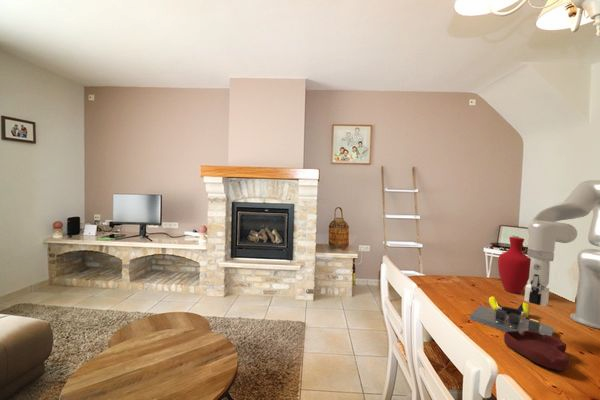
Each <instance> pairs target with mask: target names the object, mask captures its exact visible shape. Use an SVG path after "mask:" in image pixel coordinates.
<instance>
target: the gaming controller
mask: <svg viewBox="0 0 600 400" xmlns="http://www.w3.org/2000/svg"><path fill="white" fill-rule="evenodd" d="M488 304H489V307H490V308H491V309H495V310H497V309H501V310H505V311H507V313H508V314H510V313H515V314H518V315H521V316H520V317H521V318H524V319H528V318H529V316H530V311H531V307H530V305H529V304H528V302H525V301H524V302H522V303H521V304H520V305H519V306H518V308H514V307H509V306H505V305H504V306H501V305H500V304H499V302H498V300H497V299H496V298H495V296H490V297H489V298H488Z"/></svg>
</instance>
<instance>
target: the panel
mask: <svg viewBox="0 0 600 400" xmlns="http://www.w3.org/2000/svg"><path fill="white" fill-rule="evenodd" d="M520 316H521V315H518V314H515V313H510V314H508V313H507V311H505V310H501V309H497V310H495V309H492V308H491V307H487V306H484V305H479V306H478V307H477V308H475V310H474V311H473V312H471V313H470V314H469V320H471V321H474V322H477V323H480V324H482V325H486V326H489V327H491V328H495V329H498V330H500V331H503V332H504V333H505V332H509V331H519V334H521V333H522V332H523V331H533V330H530V329H528V325H529V319H528V318H526V319H524V318H521V317H520ZM535 332H536V331H535ZM539 333H540V334H541V335H549V336H553V335H554V333H555V327H553V326H550V325H546V324H544V323H541V322H540V330H539ZM553 337H554V336H553Z"/></svg>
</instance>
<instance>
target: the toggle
mask: <svg viewBox="0 0 600 400" xmlns="http://www.w3.org/2000/svg"><path fill="white" fill-rule="evenodd" d="M528 320H529V325H528V329H530V330H533V331H536V332H539V330H540V323H541V320H537V319H534V318H531V317H530V318H529V319H528Z"/></svg>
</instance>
